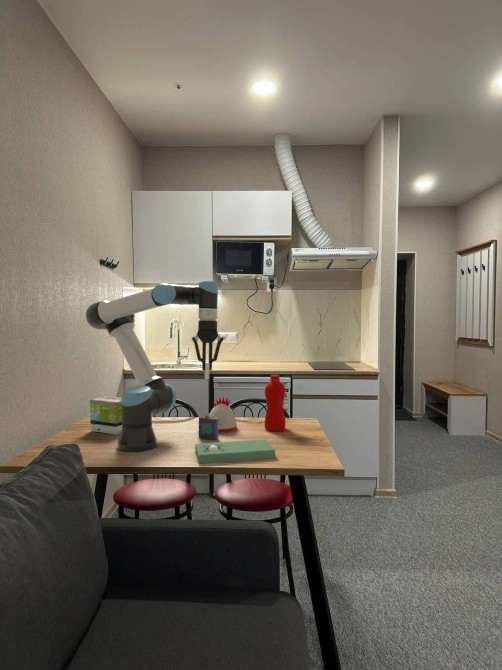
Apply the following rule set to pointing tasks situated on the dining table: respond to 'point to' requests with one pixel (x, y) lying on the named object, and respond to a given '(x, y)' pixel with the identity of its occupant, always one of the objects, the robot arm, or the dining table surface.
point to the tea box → (106, 415)
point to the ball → (213, 448)
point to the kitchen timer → (224, 416)
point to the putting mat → (234, 451)
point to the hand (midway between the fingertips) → (206, 378)
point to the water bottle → (275, 404)
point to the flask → (208, 428)
